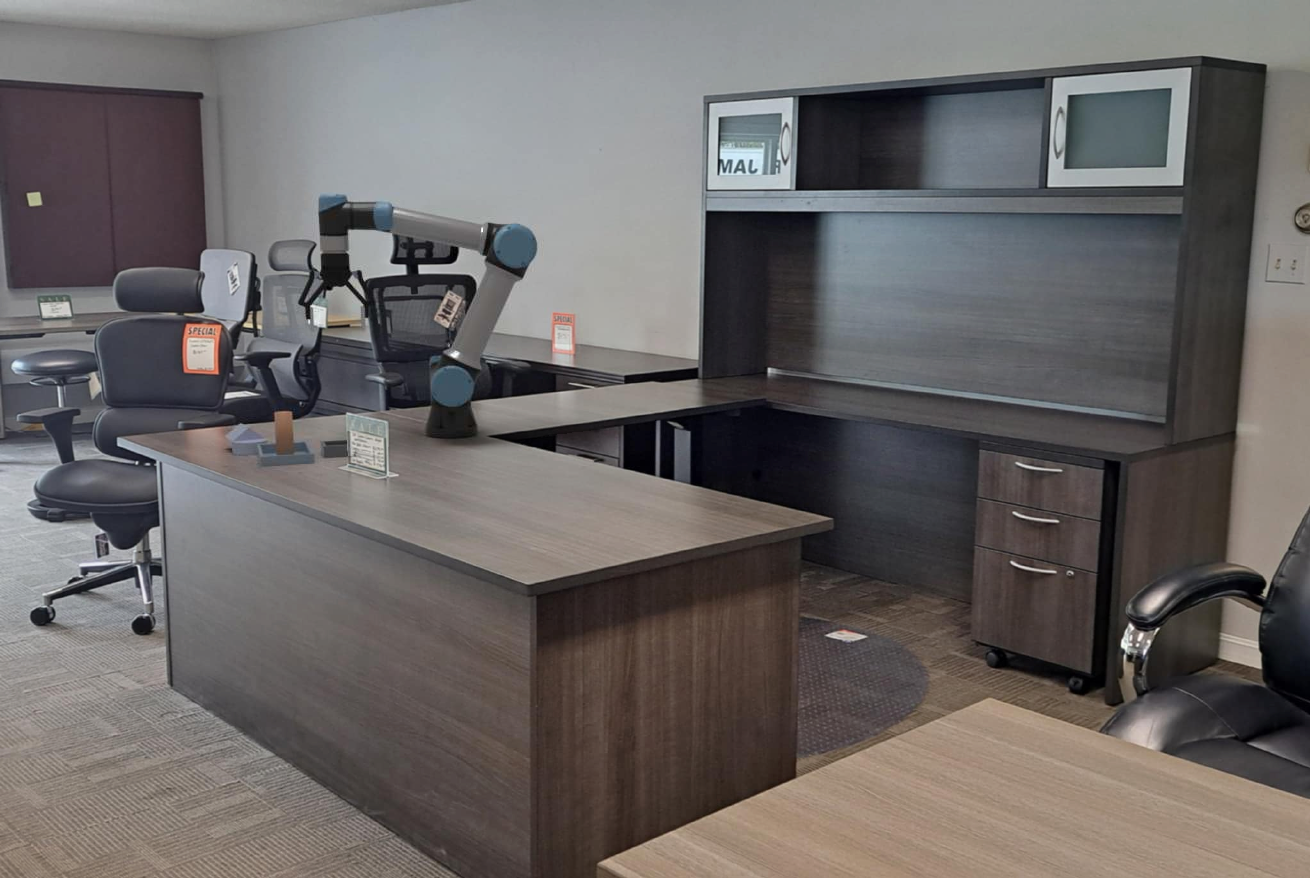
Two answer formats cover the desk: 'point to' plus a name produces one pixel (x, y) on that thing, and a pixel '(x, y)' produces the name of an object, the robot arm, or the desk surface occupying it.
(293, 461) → the tray
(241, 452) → the wedge on round base
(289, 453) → the dowel
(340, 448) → the grey square open box
